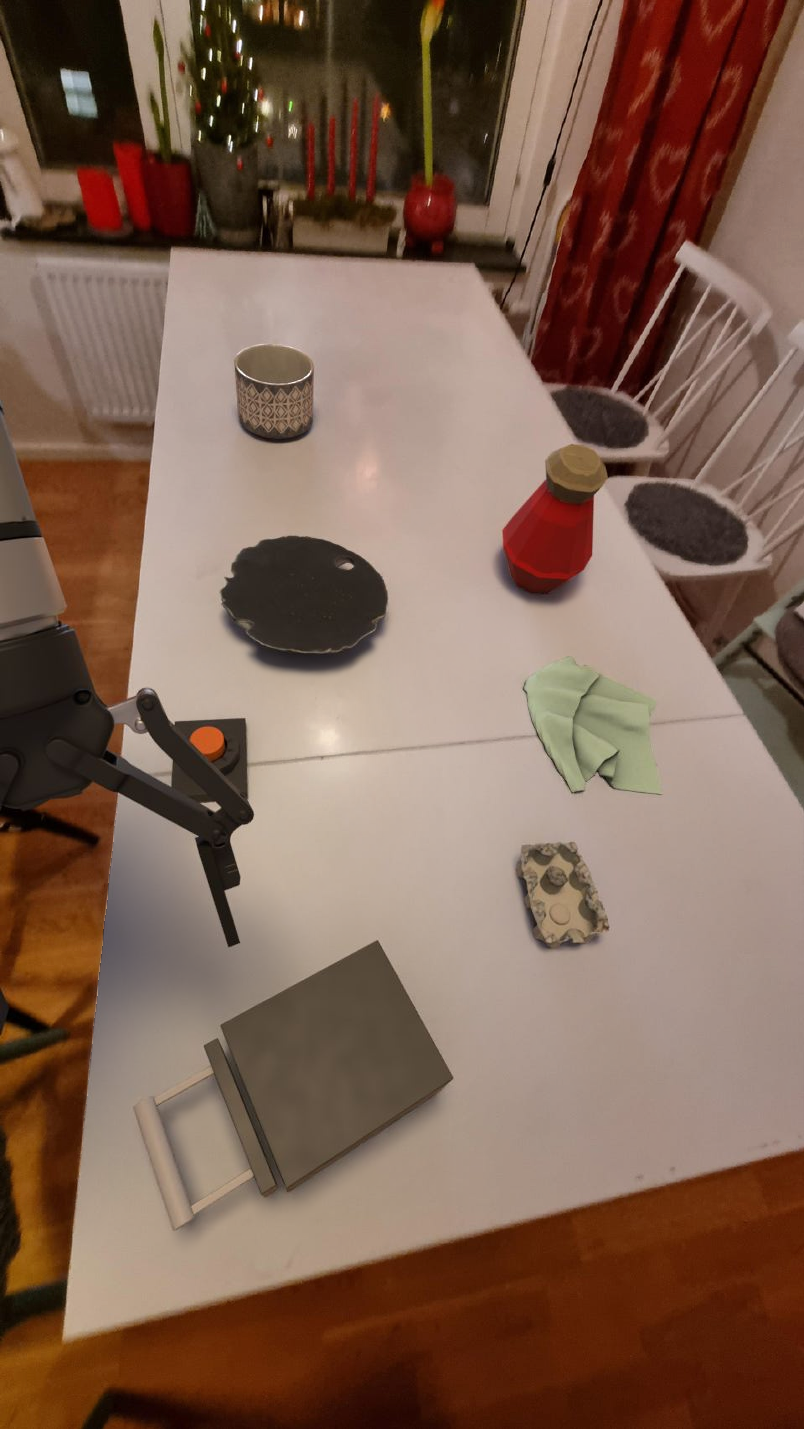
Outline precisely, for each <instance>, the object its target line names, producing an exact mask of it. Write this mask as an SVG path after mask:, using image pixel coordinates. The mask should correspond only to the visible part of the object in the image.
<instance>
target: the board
mask: <svg viewBox="0 0 804 1429" xmlns="http://www.w3.org/2000/svg"><path fill="white" fill-rule="evenodd" d="M345 564H350V565H352V566H353V567H351V568H349V569H344V568H340V567H341V566H343V565H345ZM230 572H231V574H232V575H233V576H232V577H227V576H225V575H224V576H223V578H224V580H225V586H223V587H222V588H221V589H220V590H219V594H220V595H219V596H220V599H221V603H220V605H221V606H222V608H223V609H225V611H226V612H227V614H228V616H229V617H230V619H231V620H232V621H233V623H235V624H236V626H238V627H239V628H240V629H242V630H244V631H245V632H246V635H248V637H249V638H251V639H252V640H253V641H255V642H256V643H259V644H260V645H262V646H265V647H267V648H270V649H272V650H277V651H281V652H284V653H288V654H289V653H290V654H312V653H313V654H339V653H340V652H343V651H345V650H349V649H351V648H353V647H355V646H356V645H357V644H358V643H359V642H360V641H361V639H364V638H365V637H366V636H368V635H370V634H372V633H374V632H375V631H376V629H377V626H378V624H377V622H379V621H381V620H382V619H383V618H385V616H387V614H388V613H387V612H388V611H387V610H388V609H387V608H388V606H389V590H388V589H387V585H386V583H385V579H384V578H383V575H381V574H380V573H379V572H378V571H377V570H376V568H374V567H373V565H372V564H371V563H370V562H369V561H368V560H366V559H365V558H364V557H362V556H361V555H359V554H357V553H356V552H354V551H352V550H349V549H347V548H346V547H344V546H342V545H340V544H338V543H334V542H332V541H331V540H326V539H323V538H318V537H311V536H308V535H305V536H303V535H301V536H299V535H285V536H284V535H282V536H279V537H276V538H265V539H260V541H258V542H257V544H256V545H255V546H247V547H242V549H241V550H240V551H239V553H237V554H236V557H235V559H233V561H232V563H231V567H230Z"/></svg>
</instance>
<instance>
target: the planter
mask: <svg viewBox="0 0 804 1429" xmlns="http://www.w3.org/2000/svg"><path fill="white" fill-rule="evenodd" d="M233 364H234V379H235V389H236V390H235V392H236V403H237V404H236V405H237V417H238V419H239V422H240V424H241V425H242V427H243V428H244V429H246V430H247V431H248V432H250V433H252V434H254V435H257V436H260V437H263V438H267V439H274V440H275V439H276V440H277V439H279V440H280V439H281V440H283V439H289V438H295V437H298V436H300V435H302V434H304V433H306V432H307V431H308V430H309V429H310V428H311V426H312V424H313V421H314V384H315V383H314V376H315V375H314V374H315V365H314V362H313V359H311V357H309V356H308V354H306V353H304V352H303V351H301V350H299V349H298V348H294V347H291V346H288V345H285V344H277V343H262V344H261V343H260V344H255V345H252V346H249V347H245V348H243V349H242V350H241V351H239V352H237V354H236V356H235V357H234V361H233Z"/></svg>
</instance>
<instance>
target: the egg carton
mask: <svg viewBox="0 0 804 1429" xmlns="http://www.w3.org/2000/svg"><path fill="white" fill-rule="evenodd" d="M578 848H579V847H578V845H577V843H576V842H575V841H570V842H567V843H566V842H565V843H563V842H560V841H558V842H555V843H554V842H551V843H550V842H547V843H540V842H539V843H535V844H522V845H521V848H520V857H521V859H520V861H519V863H518V865H517V866H516V868H515V872H516V875H517V878H520V879H523V880H525V881H526V890H527V894H526V895H525V896H524V898H523V901H524V904H525V907H526V908H528V909H531V912H532V914H533V916H534V920H535V922H536V925H535V927H534V928H533V930H532V932H533V936H534V938H535V939H537V940H540V941H542V942H544V943H545V944H546V945H547V946H548V947H549V948H554V949H556V948H557V949H558V948H559V947H560V946H561V945H562V944H563V943H564V942H567V941H569V940H571V942H572V943H578V944H580V945H583V944H584V945H586V944H588V943H590V942H591V940H593V939H594V938H595V936H596V934H602V933H607V932H609V931H610V924H609V919H608V915H607V913H606V908H605V907H604V905H603V902H602V901H600V899H599V894H598V890H597V887H595V884H594V881H593V878H592V874H591V871H590V868H589V867H588V865H587V863H586V862H585V861H584V860H583V856H582V855H581V854H580V853H579V851H578Z"/></svg>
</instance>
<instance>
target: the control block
mask: <svg viewBox="0 0 804 1429" xmlns="http://www.w3.org/2000/svg"><path fill="white" fill-rule="evenodd" d="M174 725H175V726H176V727H177V728H178V729H179V730H180V731H181V732H182V733H183V734H184V735H185V736H186V737H187V738H188V739H189V740H190V737H191V735H192V734H193V733H194V732H195V731H196V730H197V729H199V728H202V727H214V728H217V729H218V730H220V731H221V733H222V734H223V737H224V743H225V751H224V753H223V755H222V756H221V757H220V758H219V759H217V760H215V761H212V762H211V763H212V764H213V765H214V766H215V767H216V768H217V769H218V770H219V771H220V772H221V773H222V774H223V775H224V776H225V777H226V778H227V779H228V780H229V781H230V782H231V783H232V784H233V785H234V786H235V787H236V788H237V789H238V790H239V791H240V792H241V793H242V794H243V795H244V796H245V797H246V798H247V800H248V798H249V796H248V750H247V749H248V745H247V744H248V743H247V721H246V717H237V718H216V719H215V718H214V719H194V720H193V719H192V720H175V721H174ZM171 765H172V767H171V786H170V787H172V788H174V789H175V790H177V791H179V792H181V793H182V794H184V795H186V796H188V797H189V798H191V799H193V800H195V801H197V802H198V803H209V802H211V803H212V802H215V801H214V800H213V799H212V798H211V797H210V796H209V795H208V794H207V793H206V792H205V791H204V790H203V789H202V788H201V787H200V786H199V785H198V784H197V783H196V782H195V781H194V780H193V779H192V778H190V777H189V776H188V775H187V774H186V773H185V772H184V771H183V770H182V769H181V768H180V767H179V766H178V765H177V764H176V763H175V762H174V761H173V760H172V764H171Z"/></svg>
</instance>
